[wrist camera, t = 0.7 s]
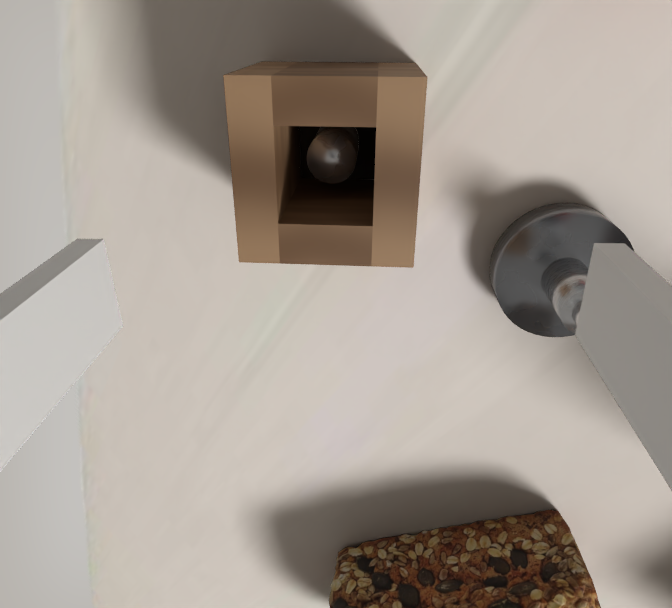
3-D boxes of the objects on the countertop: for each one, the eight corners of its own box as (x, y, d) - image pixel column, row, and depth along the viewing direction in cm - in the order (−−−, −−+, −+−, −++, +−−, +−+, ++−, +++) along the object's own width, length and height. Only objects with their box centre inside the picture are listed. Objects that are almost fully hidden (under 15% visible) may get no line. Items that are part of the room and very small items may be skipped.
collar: (261, 61, 29) (223, 75, 22) (415, 62, 28) (427, 77, 21) (269, 209, 33) (239, 262, 25) (406, 212, 32) (413, 267, 25)
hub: (498, 201, 31) (529, 247, 25) (636, 204, 31) (703, 252, 24) (482, 318, 35) (505, 385, 28) (605, 323, 34) (657, 392, 28)
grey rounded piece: (315, 117, 30) (305, 132, 26) (360, 118, 30) (357, 133, 26) (316, 162, 31) (307, 182, 27) (358, 163, 31) (355, 183, 27)
